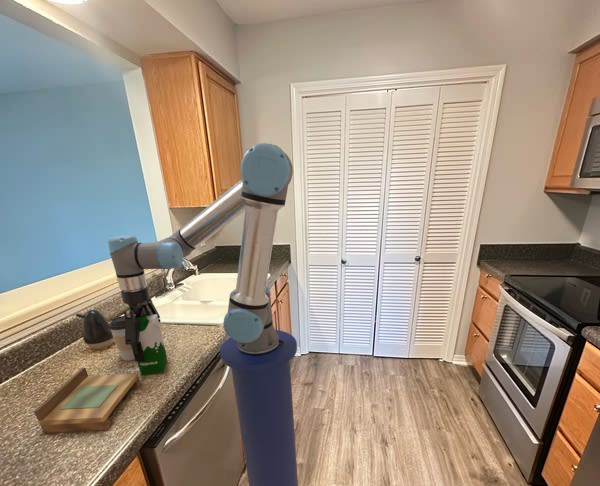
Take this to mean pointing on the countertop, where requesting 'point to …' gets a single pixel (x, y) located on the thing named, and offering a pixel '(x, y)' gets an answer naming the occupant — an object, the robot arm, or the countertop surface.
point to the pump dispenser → (96, 330)
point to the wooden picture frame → (84, 402)
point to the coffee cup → (121, 338)
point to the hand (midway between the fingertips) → (149, 350)
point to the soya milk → (151, 346)
